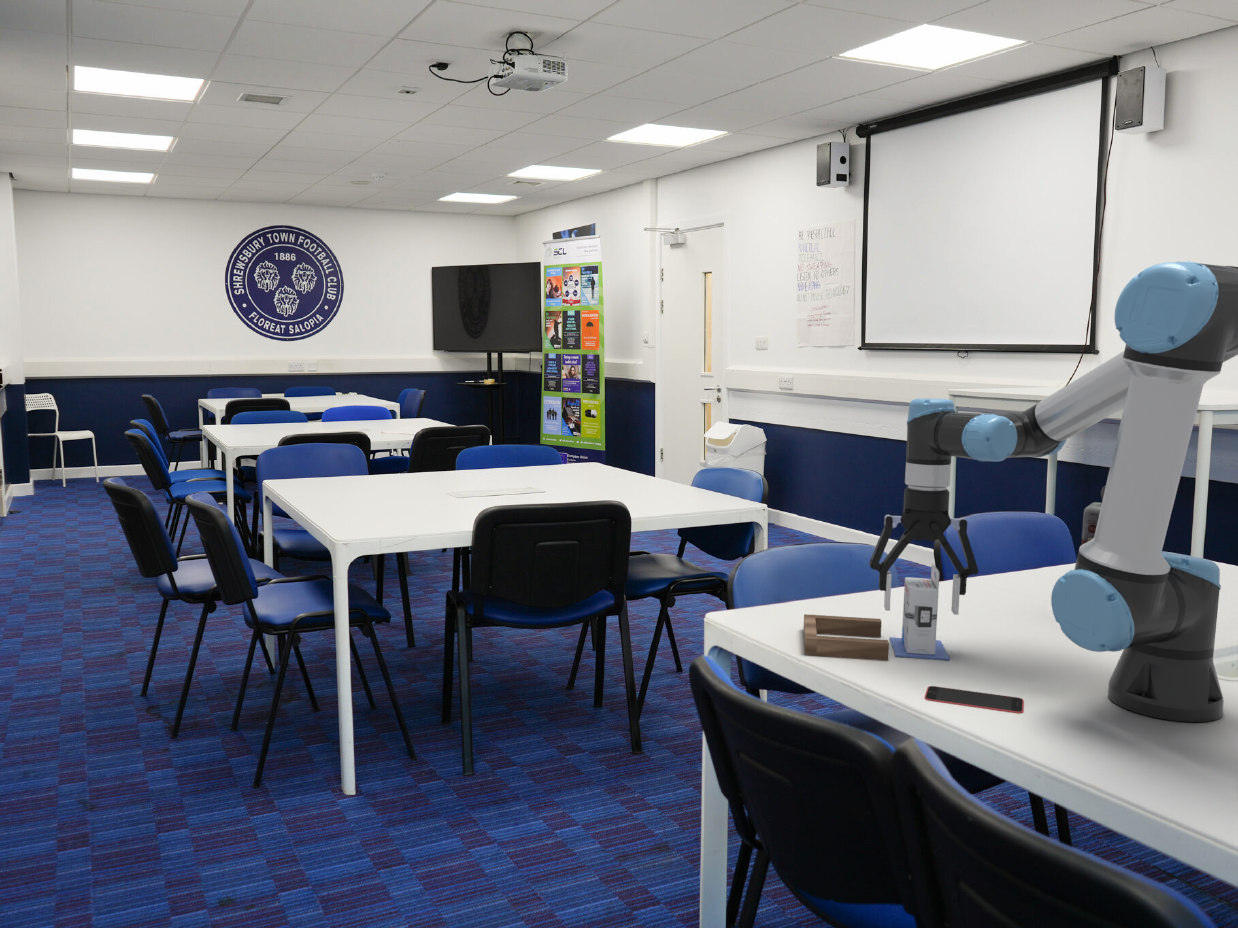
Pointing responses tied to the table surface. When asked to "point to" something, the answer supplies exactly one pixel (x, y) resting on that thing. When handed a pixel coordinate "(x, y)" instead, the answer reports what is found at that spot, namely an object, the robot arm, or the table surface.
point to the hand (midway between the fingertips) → (920, 610)
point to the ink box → (920, 613)
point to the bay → (842, 644)
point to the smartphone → (975, 699)
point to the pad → (901, 652)
